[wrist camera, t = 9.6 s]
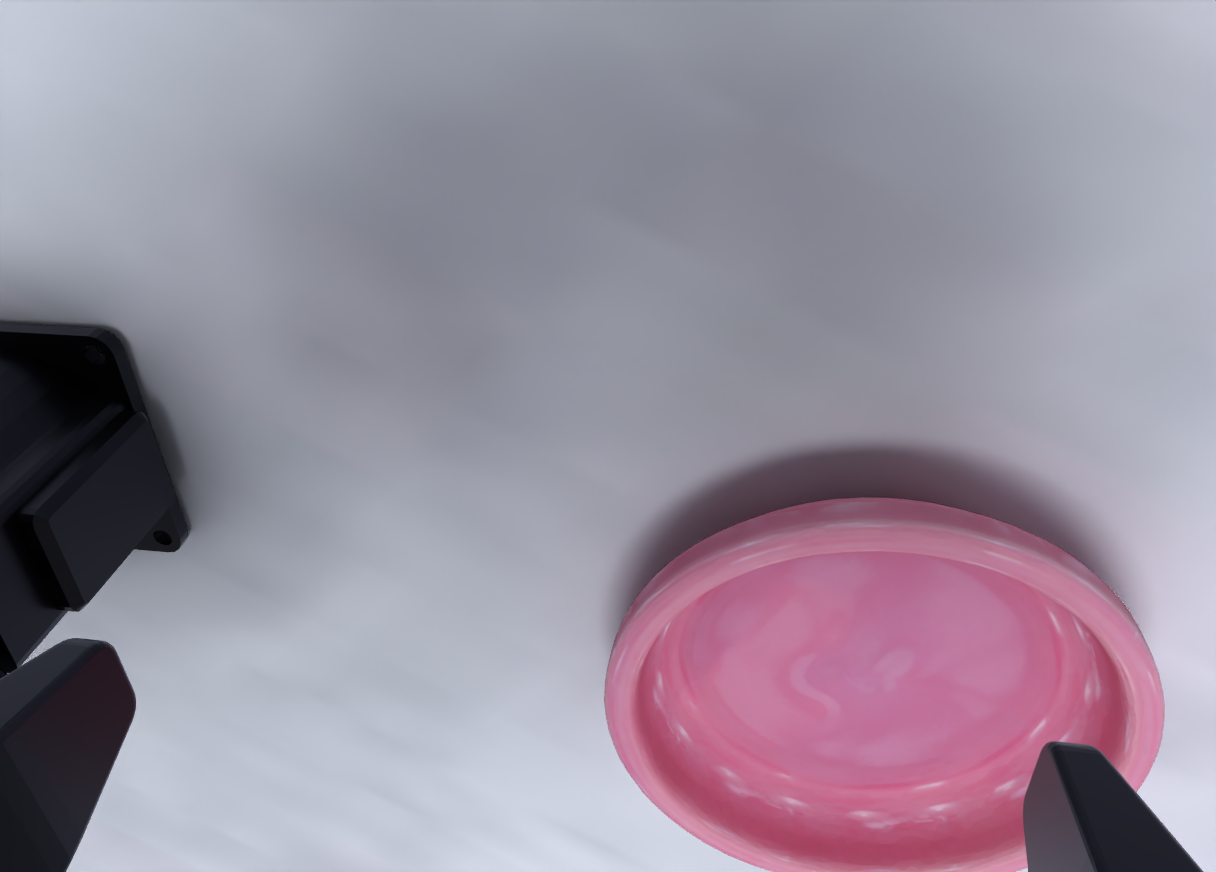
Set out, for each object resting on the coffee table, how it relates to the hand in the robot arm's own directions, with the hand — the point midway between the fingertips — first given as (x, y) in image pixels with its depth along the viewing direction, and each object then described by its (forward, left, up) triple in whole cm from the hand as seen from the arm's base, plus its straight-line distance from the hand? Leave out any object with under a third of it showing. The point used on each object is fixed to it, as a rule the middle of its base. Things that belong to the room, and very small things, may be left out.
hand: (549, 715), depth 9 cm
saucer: (+5, -11, -12) cm, 17 cm away
